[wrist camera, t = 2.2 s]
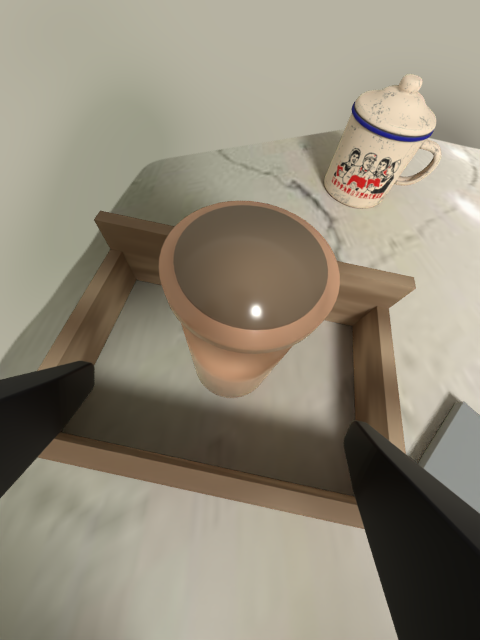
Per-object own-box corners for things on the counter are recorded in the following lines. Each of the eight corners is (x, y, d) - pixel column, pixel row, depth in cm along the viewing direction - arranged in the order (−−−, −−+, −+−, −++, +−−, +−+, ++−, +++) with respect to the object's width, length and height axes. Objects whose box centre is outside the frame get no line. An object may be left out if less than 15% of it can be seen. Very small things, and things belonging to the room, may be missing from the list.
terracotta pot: (224, 419, 18) (238, 390, 7) (176, 352, 20) (121, 238, 9) (286, 367, 21) (378, 275, 9) (237, 311, 23) (260, 178, 11)
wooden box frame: (372, 517, 16) (468, 567, 10) (39, 444, 16) (-68, 449, 10) (361, 319, 24) (413, 277, 17) (130, 269, 24) (100, 210, 18)
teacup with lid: (315, 198, 32) (364, 82, 21) (327, 163, 36) (372, 51, 25) (403, 226, 31) (499, 118, 20) (405, 186, 35) (485, 80, 24)
